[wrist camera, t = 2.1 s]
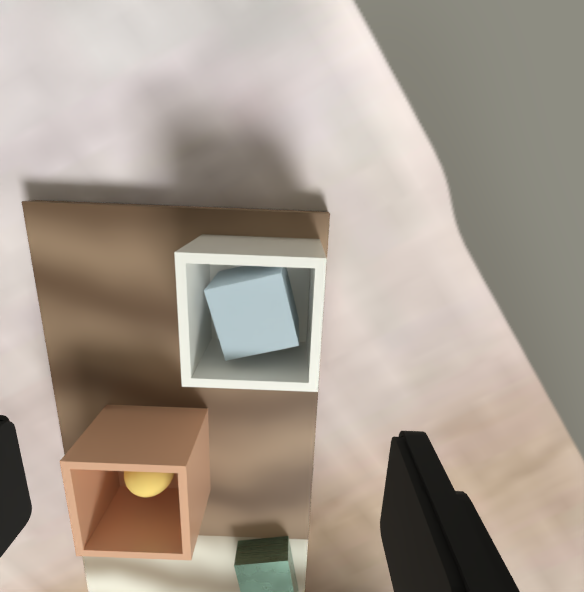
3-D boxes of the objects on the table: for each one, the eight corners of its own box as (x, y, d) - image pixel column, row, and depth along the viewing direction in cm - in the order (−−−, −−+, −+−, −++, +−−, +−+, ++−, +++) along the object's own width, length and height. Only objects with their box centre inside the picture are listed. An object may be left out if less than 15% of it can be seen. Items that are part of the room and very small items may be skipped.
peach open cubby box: (106, 404, 26) (59, 461, 21) (208, 408, 26) (186, 466, 21) (116, 486, 29) (76, 555, 23) (210, 489, 29) (191, 560, 23)
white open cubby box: (202, 234, 23) (174, 252, 18) (319, 239, 23) (326, 258, 18) (205, 342, 25) (181, 386, 20) (313, 346, 25) (317, 392, 20)
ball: (133, 433, 27) (112, 467, 24) (179, 435, 27) (164, 469, 24) (137, 471, 28) (117, 508, 24) (182, 473, 28) (167, 510, 24)
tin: (237, 540, 30) (233, 565, 28) (288, 535, 30) (287, 560, 28) (250, 594, 32) (247, 621, 30) (298, 590, 32) (298, 617, 30)
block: (219, 271, 23) (203, 290, 19) (284, 256, 23) (281, 273, 19) (236, 331, 24) (225, 360, 20) (298, 318, 24) (299, 345, 20)
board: (35, 200, 24) (21, 201, 22) (328, 211, 24) (329, 213, 22) (98, 597, 34) (91, 611, 33) (302, 604, 34) (302, 620, 33)
